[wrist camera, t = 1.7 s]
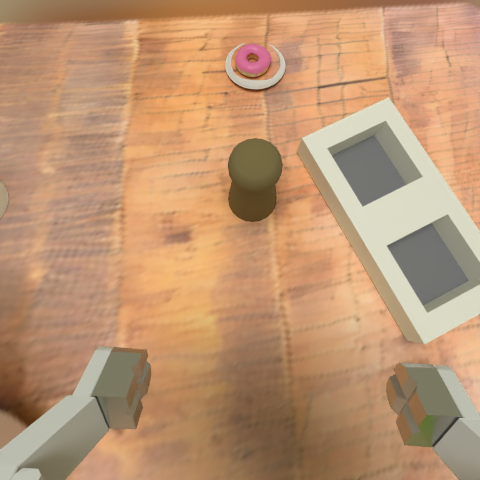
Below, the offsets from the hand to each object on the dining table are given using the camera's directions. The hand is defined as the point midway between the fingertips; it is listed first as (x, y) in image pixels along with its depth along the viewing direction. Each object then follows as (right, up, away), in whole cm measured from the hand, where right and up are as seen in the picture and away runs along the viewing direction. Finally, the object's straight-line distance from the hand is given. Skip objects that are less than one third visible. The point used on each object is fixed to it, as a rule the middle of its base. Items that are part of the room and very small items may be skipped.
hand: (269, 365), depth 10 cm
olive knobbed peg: (+1, +9, +28) cm, 30 cm away
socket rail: (+18, +7, +27) cm, 33 cm away
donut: (+1, +27, +33) cm, 42 cm away
